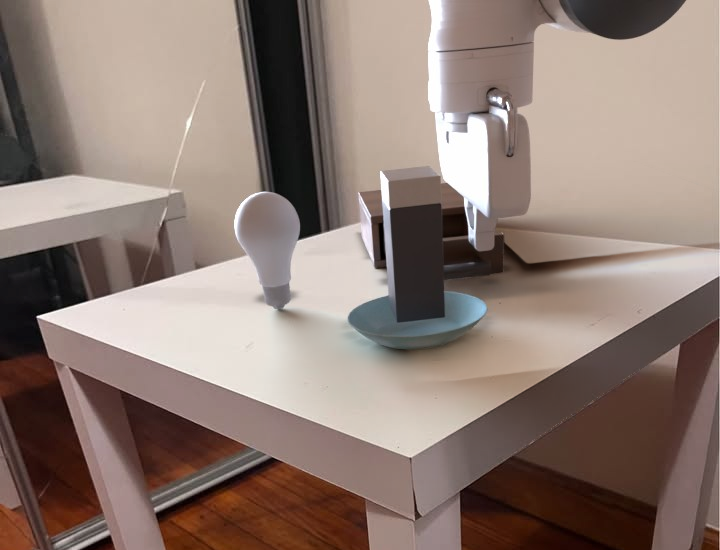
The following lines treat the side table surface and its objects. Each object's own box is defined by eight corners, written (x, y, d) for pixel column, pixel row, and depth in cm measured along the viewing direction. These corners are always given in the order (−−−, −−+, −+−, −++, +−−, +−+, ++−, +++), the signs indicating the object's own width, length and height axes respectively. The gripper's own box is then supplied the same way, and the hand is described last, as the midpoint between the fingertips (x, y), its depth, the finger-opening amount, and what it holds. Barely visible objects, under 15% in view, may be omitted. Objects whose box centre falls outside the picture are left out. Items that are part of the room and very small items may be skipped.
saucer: (321, 346, 66) (318, 320, 65) (407, 306, 73) (406, 282, 72) (431, 373, 59) (430, 345, 58) (514, 326, 66) (514, 300, 65)
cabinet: (485, 255, 86) (485, 204, 83) (374, 268, 86) (370, 216, 83) (459, 227, 99) (458, 181, 96) (362, 238, 98) (358, 192, 95)
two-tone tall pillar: (434, 299, 67) (429, 165, 61) (445, 317, 63) (440, 175, 57) (389, 304, 67) (379, 170, 61) (396, 323, 63) (387, 181, 57)
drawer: (513, 284, 73) (514, 243, 71) (396, 297, 73) (393, 257, 71) (473, 241, 88) (473, 207, 86) (375, 252, 88) (373, 218, 86)
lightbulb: (295, 320, 72) (278, 198, 67) (237, 318, 74) (217, 200, 69) (319, 299, 77) (305, 184, 72) (264, 298, 79) (247, 186, 74)
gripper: (554, 89, 57) (547, 272, 64) (488, 75, 75) (488, 221, 82) (471, 98, 57) (473, 281, 64) (424, 82, 75) (430, 227, 82)
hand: (481, 247), depth 73 cm, fingers closed
